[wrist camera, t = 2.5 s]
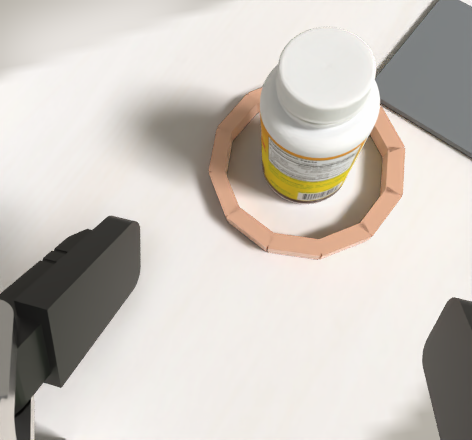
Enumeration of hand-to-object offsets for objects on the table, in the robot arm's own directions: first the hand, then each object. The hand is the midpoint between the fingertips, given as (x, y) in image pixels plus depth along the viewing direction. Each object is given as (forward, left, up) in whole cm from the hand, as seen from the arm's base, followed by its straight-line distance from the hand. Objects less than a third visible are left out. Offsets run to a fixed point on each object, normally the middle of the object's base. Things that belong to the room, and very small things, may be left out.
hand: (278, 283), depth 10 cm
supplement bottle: (-4, +8, -14) cm, 17 cm away
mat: (+1, +20, -13) cm, 25 cm away
